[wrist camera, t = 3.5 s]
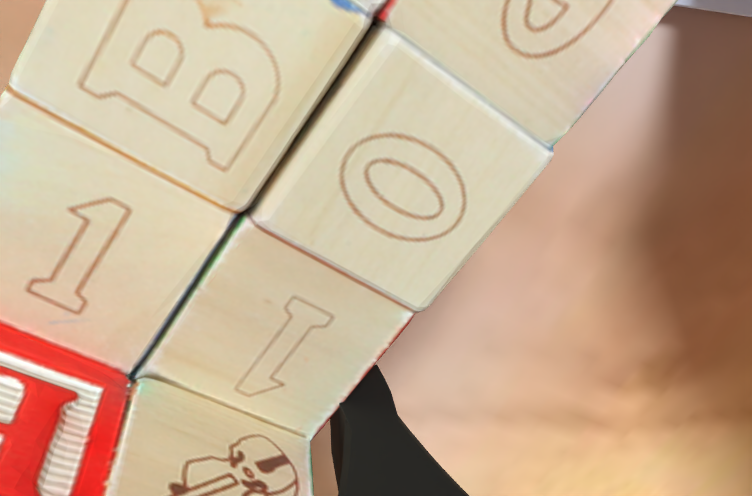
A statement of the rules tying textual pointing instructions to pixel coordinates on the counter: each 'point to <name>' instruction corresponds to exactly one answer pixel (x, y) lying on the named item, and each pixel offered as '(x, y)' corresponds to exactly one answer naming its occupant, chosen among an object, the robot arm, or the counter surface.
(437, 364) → the counter surface
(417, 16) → the stack of blocks
